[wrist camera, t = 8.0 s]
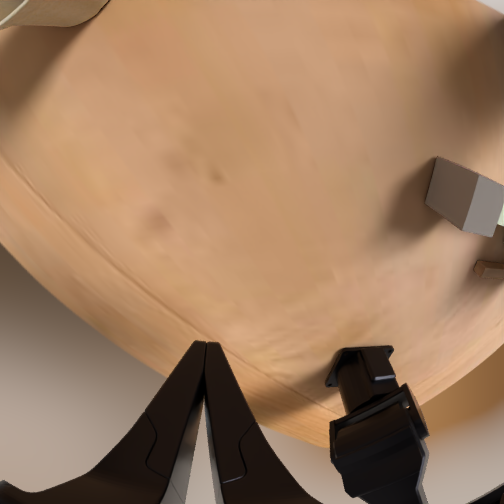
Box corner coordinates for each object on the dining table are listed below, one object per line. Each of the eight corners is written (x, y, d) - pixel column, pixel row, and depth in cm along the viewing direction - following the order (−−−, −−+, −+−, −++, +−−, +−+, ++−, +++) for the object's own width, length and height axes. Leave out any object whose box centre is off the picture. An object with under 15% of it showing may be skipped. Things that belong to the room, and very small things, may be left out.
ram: (507, 244, 22) (535, 267, 18) (417, 226, 20) (451, 256, 16) (529, 178, 18) (560, 196, 14) (442, 132, 17) (485, 145, 12)
